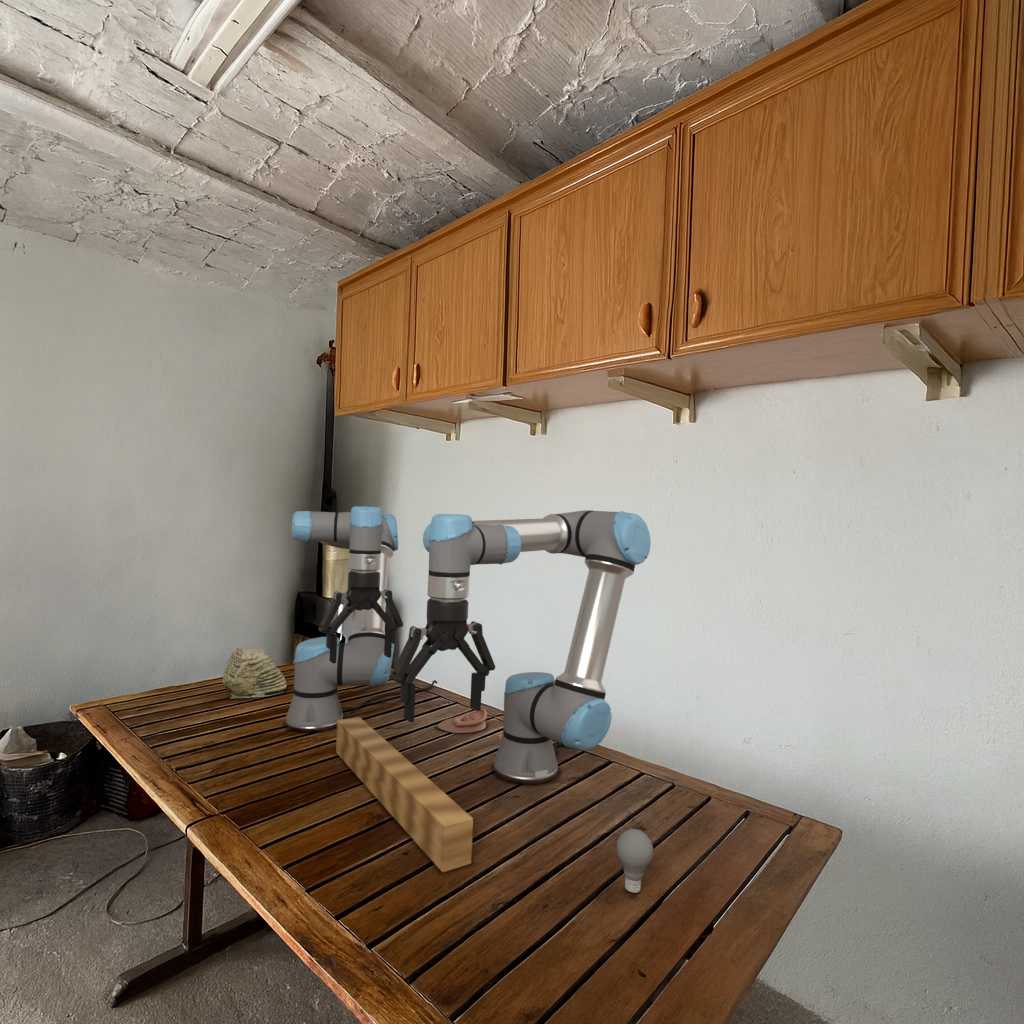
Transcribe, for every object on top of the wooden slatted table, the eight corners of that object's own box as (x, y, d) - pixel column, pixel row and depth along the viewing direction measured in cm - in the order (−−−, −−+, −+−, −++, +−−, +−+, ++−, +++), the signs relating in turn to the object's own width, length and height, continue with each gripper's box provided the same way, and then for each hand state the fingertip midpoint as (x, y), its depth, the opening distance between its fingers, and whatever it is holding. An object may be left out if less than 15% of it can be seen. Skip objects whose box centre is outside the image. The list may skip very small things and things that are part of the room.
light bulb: (610, 879, 108) (613, 822, 108) (644, 879, 109) (647, 822, 109) (619, 902, 102) (622, 840, 102) (655, 901, 103) (658, 840, 103)
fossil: (218, 695, 195) (220, 647, 195) (278, 685, 208) (279, 640, 207) (228, 703, 189) (230, 653, 188) (289, 692, 201) (290, 645, 201)
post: (335, 752, 157) (337, 720, 157) (358, 748, 160) (359, 716, 160) (442, 872, 109) (444, 826, 108) (471, 863, 112) (473, 818, 112)
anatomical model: (433, 716, 174) (446, 703, 185) (433, 730, 174) (445, 716, 185) (480, 721, 171) (490, 708, 182) (479, 736, 171) (489, 722, 183)
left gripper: (316, 574, 141) (312, 668, 142) (418, 571, 155) (415, 657, 156) (307, 570, 148) (303, 660, 148) (406, 567, 161) (402, 650, 162)
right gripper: (391, 605, 105) (386, 732, 106) (516, 598, 119) (511, 710, 120) (375, 598, 112) (370, 718, 112) (495, 592, 125) (490, 698, 126)
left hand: (360, 659), depth 152 cm, fingers open, 13 cm apart
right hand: (443, 714), depth 116 cm, fingers open, 13 cm apart
